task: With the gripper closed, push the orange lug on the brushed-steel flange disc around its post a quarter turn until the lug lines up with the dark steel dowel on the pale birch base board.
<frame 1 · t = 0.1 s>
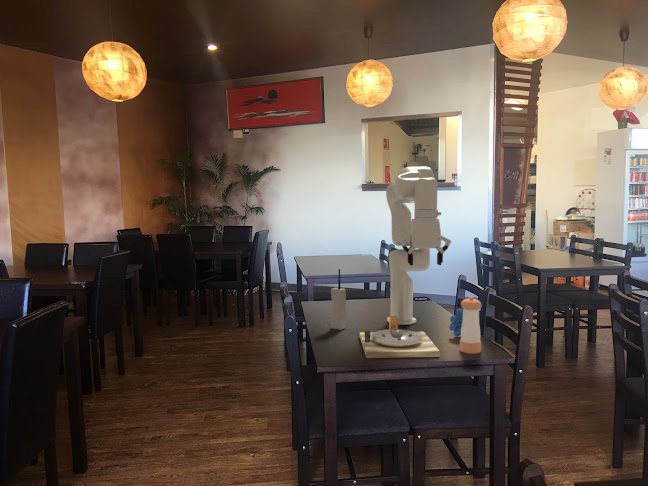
hand: (425, 264, 172), 31 cm above the table, tool pointing down, fingers open, 9 cm apart
pepper shaker: (470, 351, 178), on the table
base board: (396, 346, 184), on the table
vintage mobile phone: (338, 328, 209), on the table
flange: (396, 330, 184), point 6 cm above the table, hinge at 0.0°
grapes: (463, 336, 196), on the table
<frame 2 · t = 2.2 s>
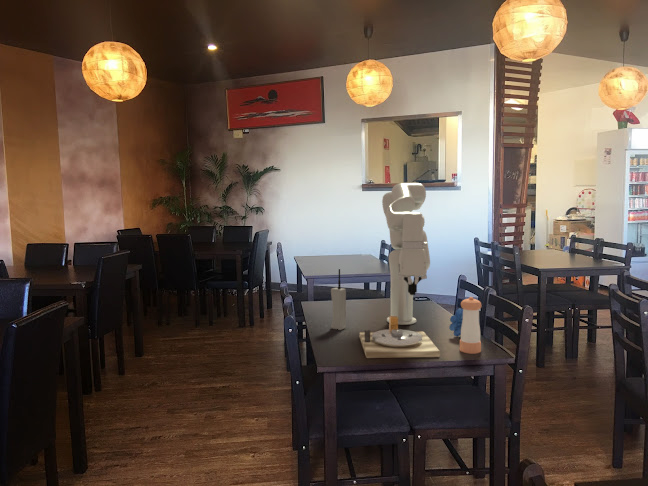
hand: (412, 294, 190), 18 cm above the table, tool pointing down, fingers closed
nothing on the table moved.
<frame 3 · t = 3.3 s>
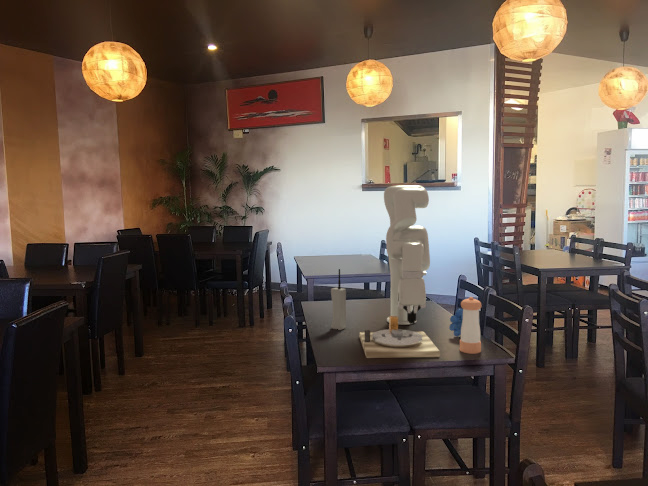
hand: (411, 322, 191), 7 cm above the table, tool pointing down, fingers closed
nothing on the table moved.
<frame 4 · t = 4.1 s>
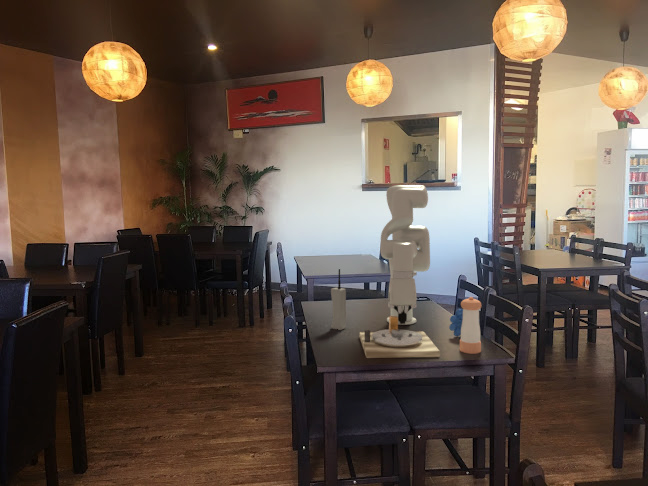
hand: (402, 322, 191), 7 cm above the table, tool pointing down, fingers closed
flange: (396, 330, 184), point 6 cm above the table, hinge at 0.4°, touching gripper
everything else where it was.
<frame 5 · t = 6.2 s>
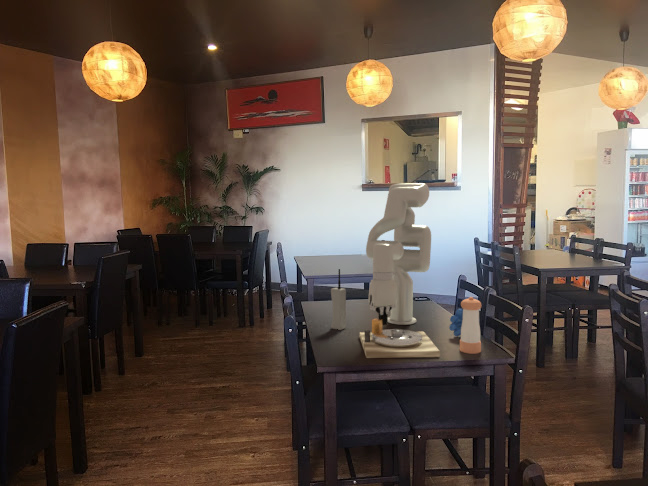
hand: (383, 324, 190), 7 cm above the table, tool pointing down, fingers closed
flange: (396, 330, 183), point 6 cm above the table, hinge at 58.1°, touching gripper
everything else where it was.
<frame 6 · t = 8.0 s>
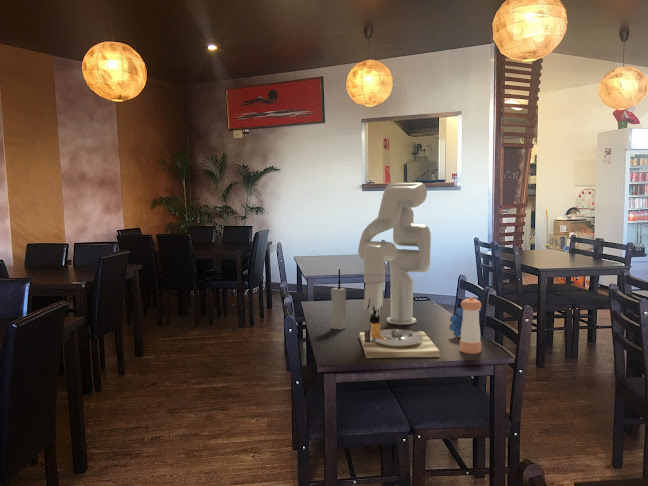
hand: (374, 326, 186), 7 cm above the table, tool pointing down, fingers closed
flange: (396, 331, 183), point 6 cm above the table, hinge at 92.7°, touching gripper
everything else where it was.
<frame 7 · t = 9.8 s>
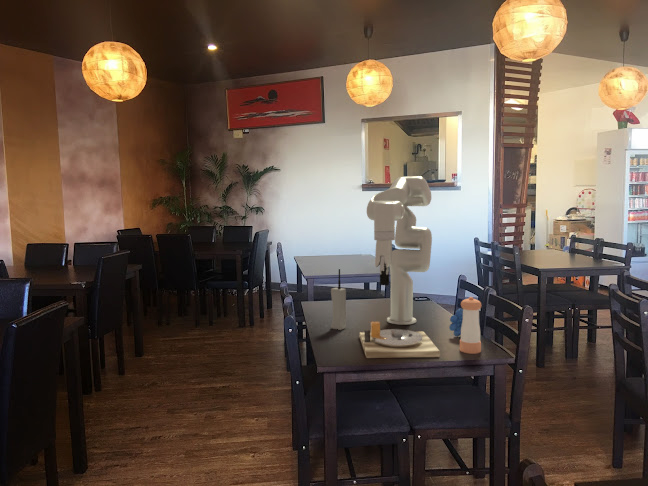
hand: (384, 284, 188), 22 cm above the table, tool pointing down, fingers closed
flange: (396, 331, 183), point 6 cm above the table, hinge at 90.9°
everything else where it was.
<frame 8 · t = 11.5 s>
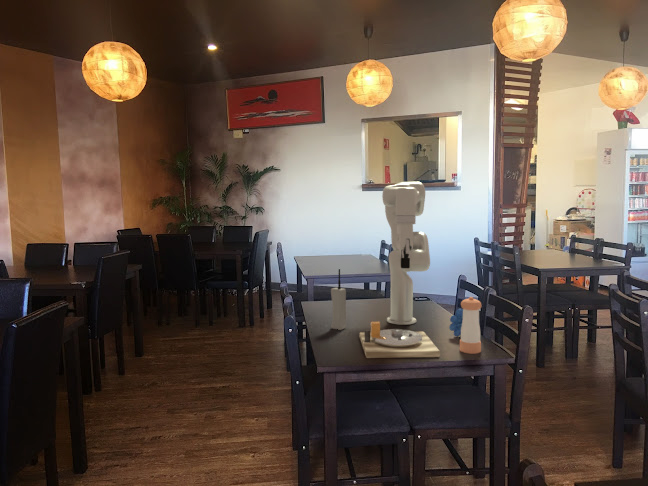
hand: (405, 267, 193), 27 cm above the table, tool pointing down, fingers closed
nothing on the table moved.
at the end: flange at +91° (first picture: +0°); flange touching nothing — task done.
